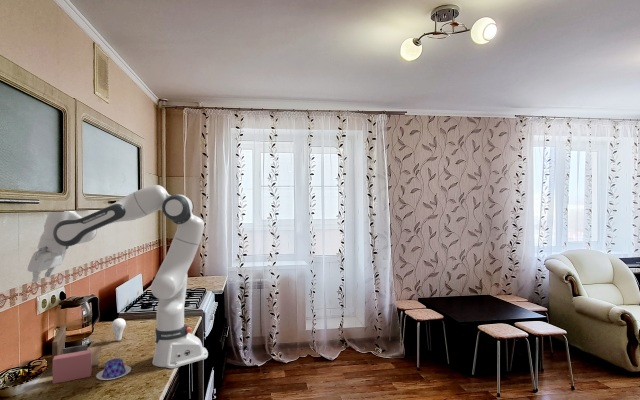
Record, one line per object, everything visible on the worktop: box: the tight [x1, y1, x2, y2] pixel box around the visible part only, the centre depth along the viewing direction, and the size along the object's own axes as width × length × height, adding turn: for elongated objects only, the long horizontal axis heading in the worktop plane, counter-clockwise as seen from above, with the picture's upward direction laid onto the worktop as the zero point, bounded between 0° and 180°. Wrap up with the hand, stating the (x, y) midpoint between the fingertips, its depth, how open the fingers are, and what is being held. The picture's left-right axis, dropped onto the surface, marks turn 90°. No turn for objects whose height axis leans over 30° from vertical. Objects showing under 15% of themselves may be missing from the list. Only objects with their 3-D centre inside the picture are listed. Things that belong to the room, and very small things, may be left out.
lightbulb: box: [111, 317, 127, 342], centre depth 174 cm, size 6×6×11 cm
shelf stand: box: [49, 325, 102, 377], centre depth 151 cm, size 16×22×13 cm
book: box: [52, 350, 93, 385], centre depth 137 cm, size 12×4×9 cm, turn 119°
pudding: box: [95, 357, 132, 381], centre depth 140 cm, size 12×12×5 cm
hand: (41, 279), depth 142 cm, fingers open, 8 cm apart
